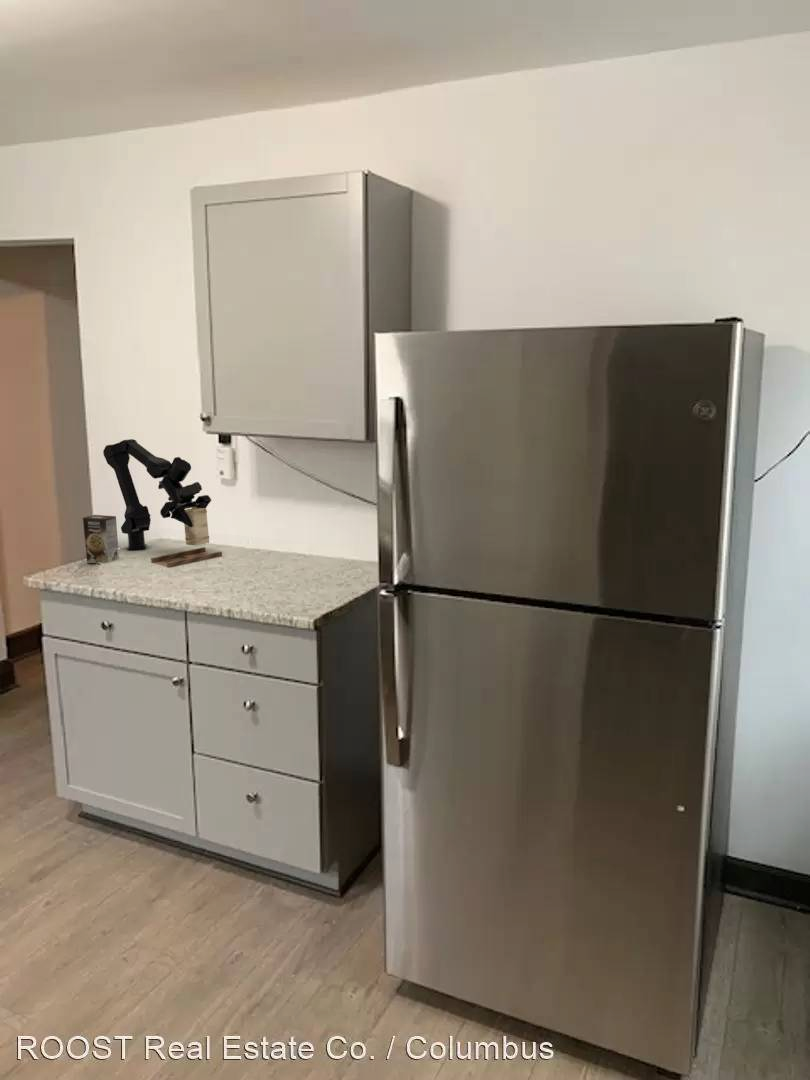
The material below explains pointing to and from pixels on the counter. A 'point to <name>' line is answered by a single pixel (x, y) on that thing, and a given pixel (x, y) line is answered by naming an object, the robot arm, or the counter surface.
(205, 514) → the stack of paper
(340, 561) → the counter surface
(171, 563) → the bay
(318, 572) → the counter surface
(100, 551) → the coffee box
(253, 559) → the counter surface
